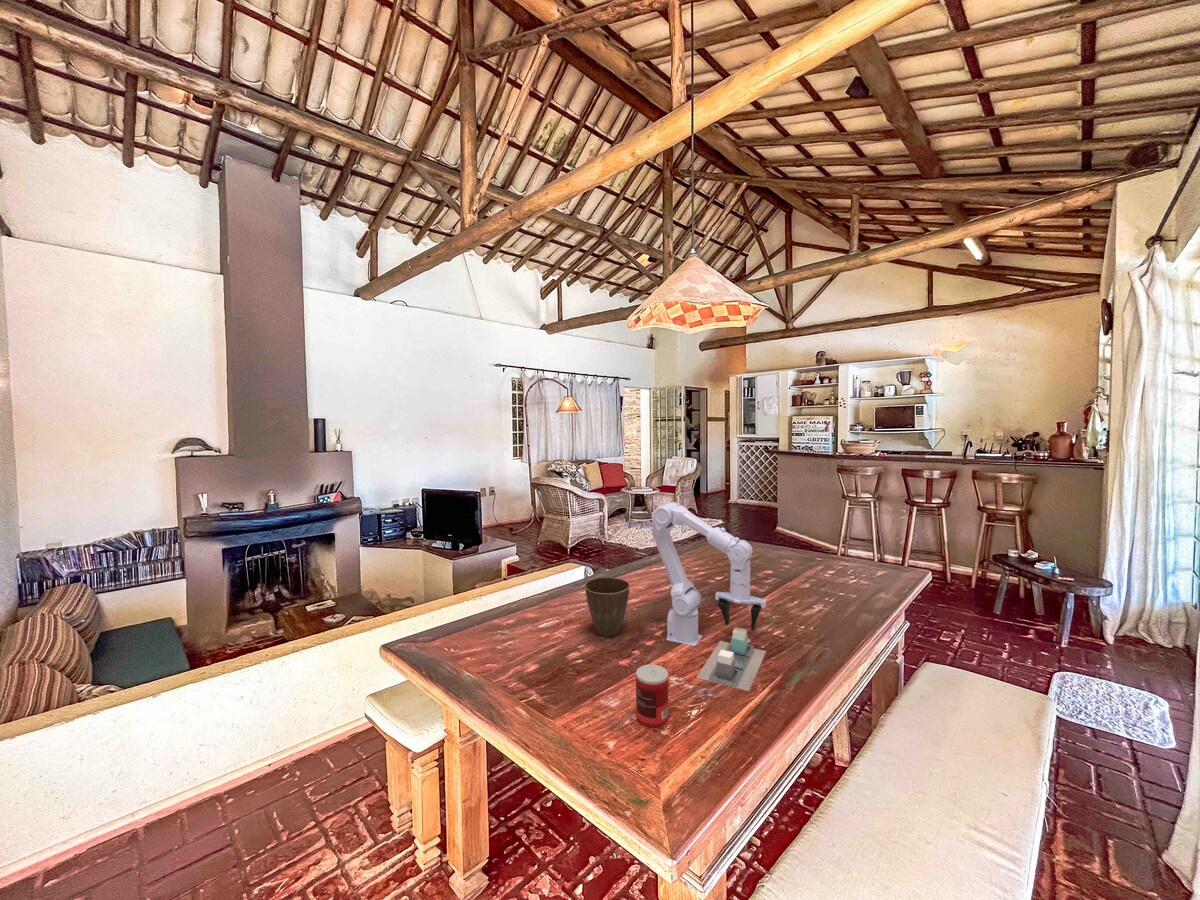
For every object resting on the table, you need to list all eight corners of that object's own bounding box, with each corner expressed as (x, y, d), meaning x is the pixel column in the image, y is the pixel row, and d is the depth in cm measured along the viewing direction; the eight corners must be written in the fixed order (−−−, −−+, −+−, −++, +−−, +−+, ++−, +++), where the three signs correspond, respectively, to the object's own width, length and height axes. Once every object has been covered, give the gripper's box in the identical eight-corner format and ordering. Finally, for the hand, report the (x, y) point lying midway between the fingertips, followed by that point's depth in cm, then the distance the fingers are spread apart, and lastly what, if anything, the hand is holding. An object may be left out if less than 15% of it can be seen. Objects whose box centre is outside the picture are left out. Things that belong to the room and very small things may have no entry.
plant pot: (626, 644, 150) (626, 594, 149) (580, 640, 153) (580, 591, 152) (632, 624, 165) (632, 578, 164) (590, 620, 168) (590, 576, 167)
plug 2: (731, 652, 143) (731, 631, 143) (734, 647, 147) (734, 626, 146) (744, 655, 141) (745, 634, 141) (747, 650, 145) (748, 629, 144)
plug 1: (716, 678, 129) (716, 655, 129) (720, 671, 133) (720, 648, 132) (731, 682, 127) (731, 658, 127) (735, 675, 131) (735, 652, 130)
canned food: (665, 706, 118) (665, 663, 117) (671, 727, 110) (671, 681, 109) (634, 707, 118) (634, 664, 117) (638, 728, 110) (637, 682, 109)
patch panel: (696, 678, 130) (696, 673, 130) (720, 642, 151) (720, 637, 151) (748, 692, 123) (748, 687, 123) (766, 652, 144) (766, 647, 144)
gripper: (712, 582, 143) (712, 626, 143) (762, 590, 135) (762, 636, 136) (718, 575, 149) (718, 618, 150) (767, 582, 142) (767, 627, 142)
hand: (740, 626), depth 143 cm, fingers open, 7 cm apart
